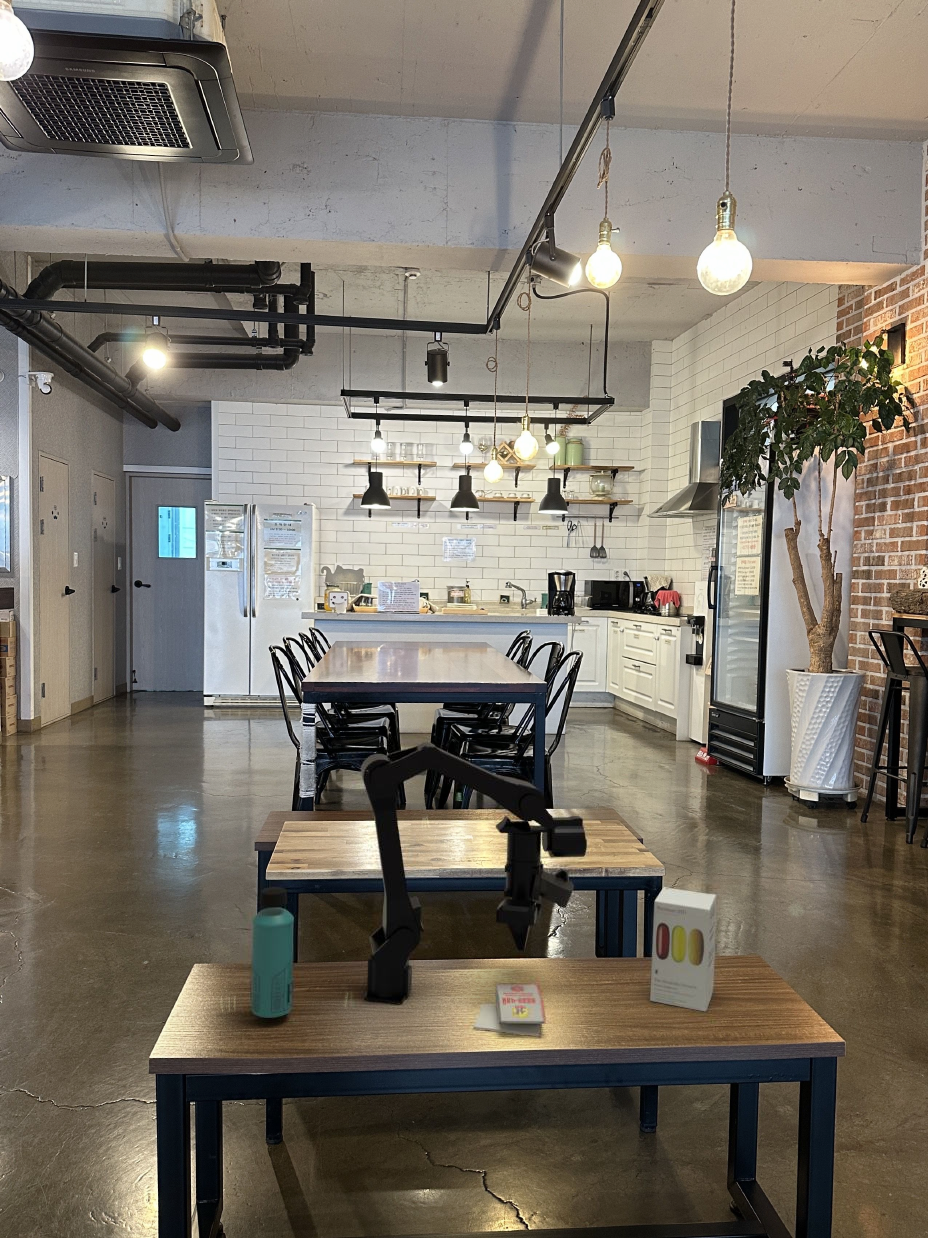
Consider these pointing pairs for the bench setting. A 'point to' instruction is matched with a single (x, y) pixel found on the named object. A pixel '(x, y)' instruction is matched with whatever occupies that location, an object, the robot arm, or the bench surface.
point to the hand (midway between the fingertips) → (521, 949)
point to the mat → (490, 1022)
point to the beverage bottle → (272, 956)
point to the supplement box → (683, 948)
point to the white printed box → (519, 1003)
